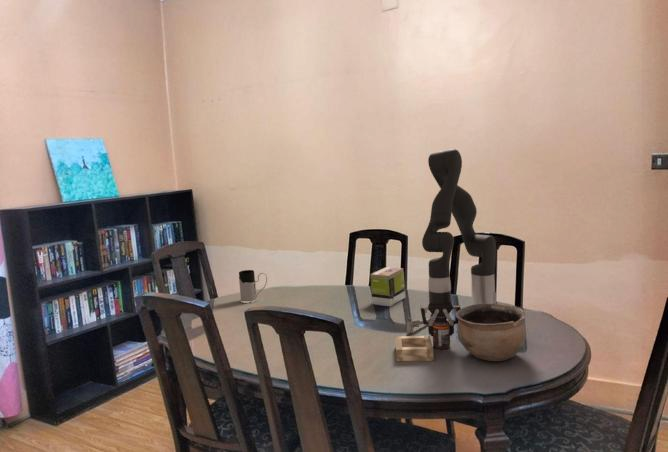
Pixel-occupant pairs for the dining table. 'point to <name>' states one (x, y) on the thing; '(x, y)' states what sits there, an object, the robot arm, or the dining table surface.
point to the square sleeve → (414, 348)
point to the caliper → (413, 325)
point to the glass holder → (248, 285)
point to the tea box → (387, 286)
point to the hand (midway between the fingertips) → (441, 335)
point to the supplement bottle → (441, 332)
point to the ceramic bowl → (491, 330)
